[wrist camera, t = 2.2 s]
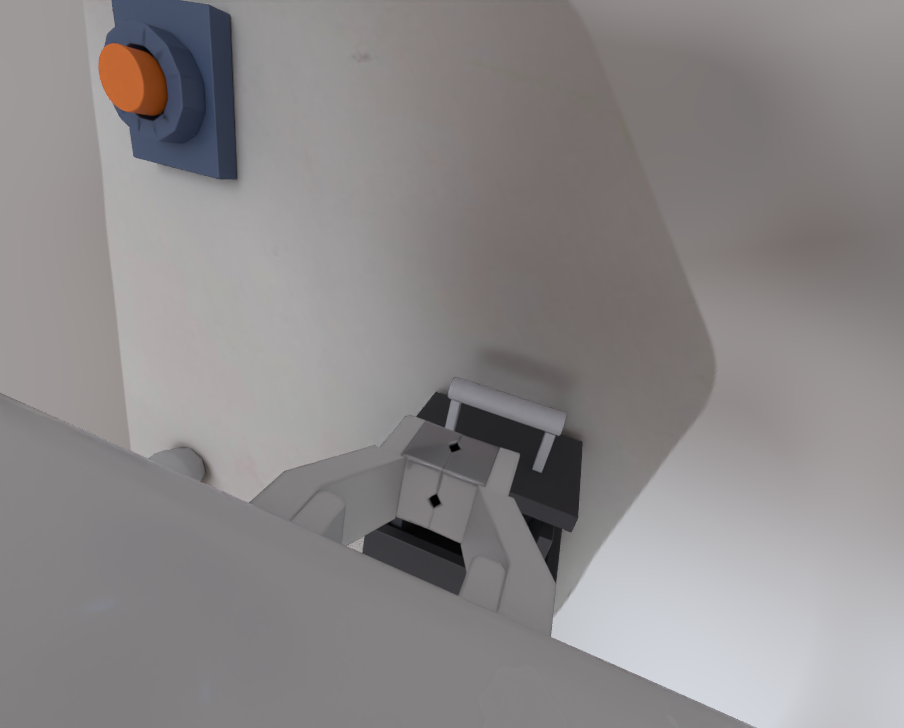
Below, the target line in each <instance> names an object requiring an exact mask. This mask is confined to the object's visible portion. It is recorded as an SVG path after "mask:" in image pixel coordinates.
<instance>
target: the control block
mask: <svg viewBox="0 0 904 728" xmlns="http://www.w3.org/2000/svg"><path fill="white" fill-rule="evenodd" d="M112 7H113V14H114V21H115V27H114V28H113V29H112V30H111V31H110V32H109V33H108V34H107V37H106V42H105V46H107V45H108V44H111V43H117V44H121V45H124V46H127V47H131V48H134V49H138V50H141V51H144V52H147V53H148V54H150V55H151V56H152V57H154V58H155V59H156V61H157V62H158V63H159V64H160V66H161V68H162V70H163V72H164V75H165V77H166V83H167V92H168V101H167V104H166V107H165V109H164V111H163V112H162V113H161V114H159V115H156V116H150V115H144V114H137V113H131V112H126V111H123V110H121V109H119V108H118V107H117V106H116V105H114V107H115V109H116V111H117V113H118V115H119V117H120V118H121V119H122V120H123V121H124V122H125V123H126V124H127V125H128V126H129V127H130V134H131V141H132V148H133V156H134V157H136V158H139V159H143V160H147V161H151V162H155V163H159V164H163V165H166V166H170V167H174V168H178V169H182V170H186V171H190V172H194V173H197V174H201V175H205V176H209V177H213V178H217V179H237V177H236V153H235V128H234V104H233V80H232V56H231V32H230V15H229V14H227V13H225V12H223V11H221V10H219V9H217V8H215V7H213V6H210V5H207V4H201V3H194V2H188V1H182V0H112ZM105 46H104V47H105Z"/></svg>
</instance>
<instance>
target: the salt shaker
mask: <svg viewBox="0 0 904 728" xmlns="http://www.w3.org/2000/svg"><path fill="white" fill-rule="evenodd" d="M149 459H150V460H153V461H155V462H157V463H159V464H162V465H164V466H166V467H168V468H171V469H173V470H175V471H177V472H180V473H182V474H184V475H187V476H189V477H191V478H193V479H196V480H198V481H201V479H202V478H203V476H204V474H205V473H206V472H205V468H204V464H203V460H202V459H201V458H200V457H199V456H198V455H197V454H196V453H195V452H194V451H193V450H191V449H190V448H176V449H171V450H165V451H161V452H158V453H156V454H153V455H152V456H151V457H150V458H149Z"/></svg>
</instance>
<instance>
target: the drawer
mask: <svg viewBox="0 0 904 728" xmlns="http://www.w3.org/2000/svg"><path fill="white" fill-rule="evenodd" d="M416 417H418V418H421V419H423V420H426V421H429V422H432V423H434V424H437V425H439V426H442V427H445V428H447V429H450V430H453V431H455V432H458V433H460V434H463V435H465V436H468V437H470V438H473V439H476V440H479V441H482V442H485V443H488V444H491V445H494V446H497V447H499V448H500V447H501V448H504V449H507V450H510V451H514V452H517V453H519V454H520V457H519V461H518V464H517V468H516V471H515V475H514V478H513V482H512V485H511V488H510V492H509V495H508V496H509V497H512V498H514V499H515V501H516V504H517V506H518V508H519V510H520V512H521V514H522V516H523V518H524V520H525V522H526V524H527V526H528V528H529V530H530V532H531V534H532V536H533V538H534V540H535V542H536V544H537V546H538V548H539V550H540V552H541V555H542V557H543V559H544V560H545V558H546V555H547V553H548V551H549V548H550V546H551V544H552V541H553V534H554V526H556V527H559V528H561V529H564V530H566V531H569V532H572V530H573V528H574V526H575V523H576V521H577V519H578V510H579V494H580V478H581V461H582V445H583V442H582V441H579V440H576V439H573V438H570V437H567V436H564V435H561V432H562V430H563V427H564V424H565V420H566V413H564V412H561V411H558V410H555V409H552V408H549V407H546V406H543V405H540V404H537V403H534V402H531V401H528V400H525V399H522V398H519V397H516V396H513V395H510V394H507V393H504V392H501V391H498V390H495V389H492V388H489V387H486V386H483V385H480V384H477V383H473V382H470V381H467V380H464V379H461V378H458V377H454V378H453V380H452V382H451V384H450V387H449V391H448V396H447V395H444V394H441V393H438V392H435V394H434V395H433V396H432V397H431V399H430V400H429V401H428V402H427V404H426V405H425V406H424V407H423V409H422V410H421V411H420V412H419V414H418V415H417V416H416ZM391 526H392V527H395V528H397V529H399V530H402V531H404V532H406V533H409V534H411V535H414V536H416V537H418V538H421V539H423V540H425V541H428V542H430V543H432V544H435V545H437V546H440V547H442V548H444V549H447V550H449V551H451V552H454V553H456V554H458V555H461V556H463V553H462V549H461V543H458V542H456V541H454V540H452V539H449V538H447V537H445V536H443V535H440V534H438V533H436V532H434V531H432V530H429V529H427V528H424V527H422V526H419V525H416V524H414V523H411V522H409V521H406V520H403V519H401V518H398V517H395V519H393V520H392V521H391Z"/></svg>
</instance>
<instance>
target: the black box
mask: <svg viewBox="0 0 904 728" xmlns="http://www.w3.org/2000/svg"><path fill="white" fill-rule="evenodd" d="M561 533H562V529H561V528H559V527H556V526H554V534H553V541H552V544H551V546H550V548H549V551H548V553H547V555H546V558H545V560H544V561H545V563H546V565H547V567H548V569H549V571H550V573H551V575H552V577H553V579H554V581H555V583H556V580H557V570H558V561H559V552H560V542H561ZM362 553H363V554H365V555H367V556H370V557H372V558H374V559H376V560H379V561H381V562H383V563H385V564H388V565H390V566H392V567H395V568H397V569H399V570H401V571H404V572H406V573H408V574H410V575H413V576H415V577H417V578H419V579H422V580H424V581H426V582H429V583H431V584H433V585H435V586H438V587H440V588H442V589H444V590H446V591H449V592H451V593H453V594H455V595H458V596H459V593H460V590H461V587H462V584H463V582H464V579H465V576H466V573H467V572H466V567H465V563H464V558H463V556H461V555H458V554H456V553H454V552H451V551H449V550H447V549H444V548H442V547H440V546H437V545H435V544H432V543H430V542H428V541H425V540H423V539H421V538H418V537H416V536H414V535H411V534H409V533H406V532H404V531H402V530H399V529H397V528H395V527H392V526H391V521H390V522H388V523H386V524H385V525H383V526H381V527H379V528H377V529H376V530H374V531H372V532H370V533H369V534H367V535H365V537H364V545H363V552H362Z"/></svg>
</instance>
